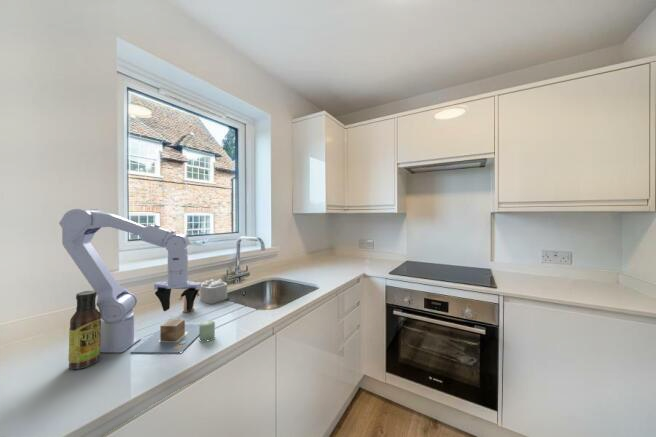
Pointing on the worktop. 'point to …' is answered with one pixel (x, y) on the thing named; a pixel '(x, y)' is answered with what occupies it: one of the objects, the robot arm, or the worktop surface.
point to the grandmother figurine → (186, 302)
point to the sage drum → (207, 330)
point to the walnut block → (172, 330)
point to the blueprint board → (169, 342)
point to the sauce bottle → (84, 332)
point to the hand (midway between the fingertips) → (178, 310)
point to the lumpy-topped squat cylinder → (213, 291)
